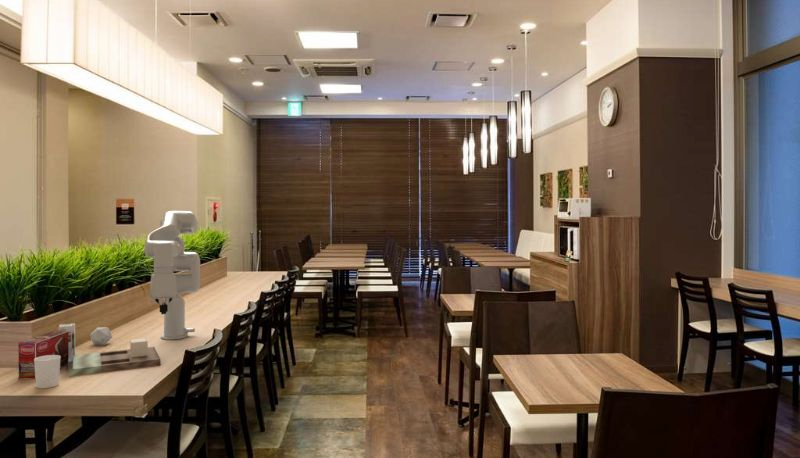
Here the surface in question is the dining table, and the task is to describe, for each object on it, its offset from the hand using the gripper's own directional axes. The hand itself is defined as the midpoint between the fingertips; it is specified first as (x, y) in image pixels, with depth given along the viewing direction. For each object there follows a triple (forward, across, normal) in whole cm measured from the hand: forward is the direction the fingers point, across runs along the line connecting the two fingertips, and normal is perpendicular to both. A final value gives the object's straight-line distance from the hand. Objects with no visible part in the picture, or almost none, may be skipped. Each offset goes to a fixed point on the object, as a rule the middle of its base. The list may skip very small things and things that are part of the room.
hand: (163, 313), depth 230 cm
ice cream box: (+19, +42, -1) cm, 47 cm away
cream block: (+16, +10, 0) cm, 19 cm away
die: (+19, +22, -39) cm, 49 cm away
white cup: (+19, +40, +21) cm, 49 cm away
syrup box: (+19, +36, -17) cm, 44 cm away
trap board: (+19, +18, 0) cm, 26 cm away
